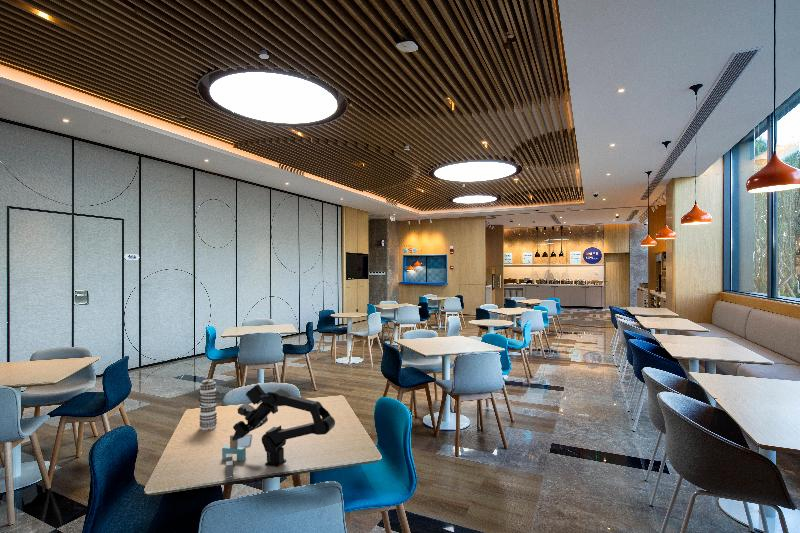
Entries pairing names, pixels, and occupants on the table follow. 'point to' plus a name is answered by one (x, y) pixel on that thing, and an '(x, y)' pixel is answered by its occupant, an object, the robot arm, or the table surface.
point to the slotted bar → (229, 465)
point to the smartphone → (245, 441)
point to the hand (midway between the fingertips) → (239, 436)
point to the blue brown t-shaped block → (234, 450)
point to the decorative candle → (208, 404)
